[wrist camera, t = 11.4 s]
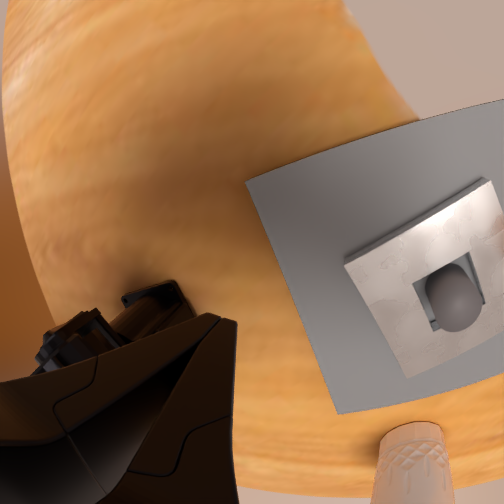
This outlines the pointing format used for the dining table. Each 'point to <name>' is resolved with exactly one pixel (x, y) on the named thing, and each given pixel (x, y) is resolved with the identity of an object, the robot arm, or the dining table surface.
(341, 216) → the slate board
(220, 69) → the dining table surface
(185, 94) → the dining table surface
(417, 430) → the white cup
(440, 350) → the flange plate
